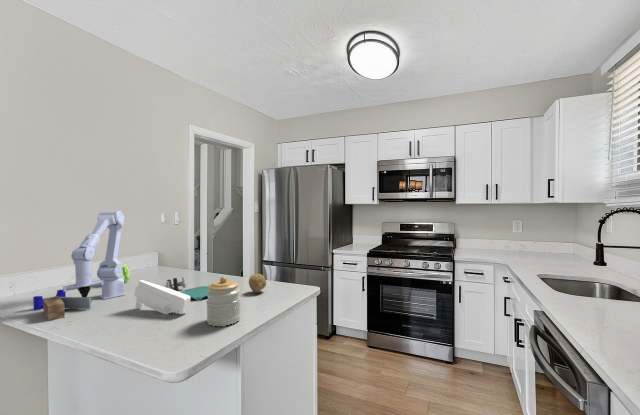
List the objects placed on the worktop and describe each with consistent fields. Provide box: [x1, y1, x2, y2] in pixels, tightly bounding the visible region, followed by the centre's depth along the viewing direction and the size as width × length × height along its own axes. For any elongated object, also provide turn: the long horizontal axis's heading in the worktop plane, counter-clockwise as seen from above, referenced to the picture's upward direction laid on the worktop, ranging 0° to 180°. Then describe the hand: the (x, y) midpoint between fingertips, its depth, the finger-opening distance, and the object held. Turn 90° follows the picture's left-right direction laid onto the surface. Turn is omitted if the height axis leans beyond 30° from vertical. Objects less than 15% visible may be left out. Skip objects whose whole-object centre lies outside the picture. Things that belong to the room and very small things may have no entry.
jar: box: [205, 276, 242, 327], centre depth 119 cm, size 13×13×18 cm
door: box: [59, 296, 93, 310], centre depth 136 cm, size 2×16×5 cm, turn 83°
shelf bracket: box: [134, 279, 192, 315], centre depth 131 cm, size 6×27×14 cm, turn 71°
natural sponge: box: [248, 273, 267, 294], centre depth 157 cm, size 9×9×10 cm
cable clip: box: [32, 289, 67, 311], centre depth 142 cm, size 12×4×6 cm, turn 170°
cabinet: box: [42, 295, 66, 322], centre depth 129 cm, size 5×16×6 cm, turn 48°
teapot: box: [112, 263, 131, 284], centre depth 180 cm, size 16×14×13 cm
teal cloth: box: [179, 285, 210, 301], centre depth 160 cm, size 20×30×2 cm, turn 152°
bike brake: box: [162, 276, 187, 292], centre depth 165 cm, size 14×7×20 cm
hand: (84, 303), depth 137 cm, fingers closed
